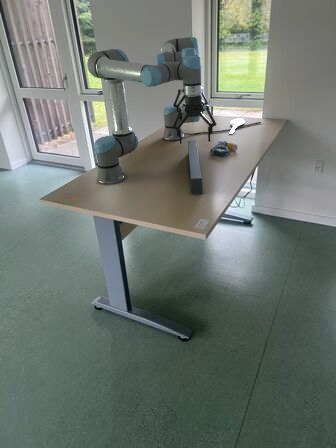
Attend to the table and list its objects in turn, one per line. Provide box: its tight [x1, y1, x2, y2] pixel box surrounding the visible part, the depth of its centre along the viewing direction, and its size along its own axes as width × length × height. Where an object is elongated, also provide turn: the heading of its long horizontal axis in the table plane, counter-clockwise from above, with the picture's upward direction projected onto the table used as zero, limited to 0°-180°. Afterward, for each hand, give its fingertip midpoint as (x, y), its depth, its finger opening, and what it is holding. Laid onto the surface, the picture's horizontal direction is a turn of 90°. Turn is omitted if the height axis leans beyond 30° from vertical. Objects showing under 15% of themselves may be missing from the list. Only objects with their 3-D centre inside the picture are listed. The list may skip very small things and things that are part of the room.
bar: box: [187, 139, 203, 195], centre depth 189 cm, size 60×5×8 cm, turn 179°
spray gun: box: [209, 140, 238, 157], centre depth 214 cm, size 21×4×15 cm
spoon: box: [228, 118, 245, 135], centre depth 259 cm, size 35×11×2 cm, turn 159°
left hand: (194, 141), depth 159 cm, fingers open, 13 cm apart
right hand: (191, 117), depth 199 cm, fingers open, 13 cm apart
